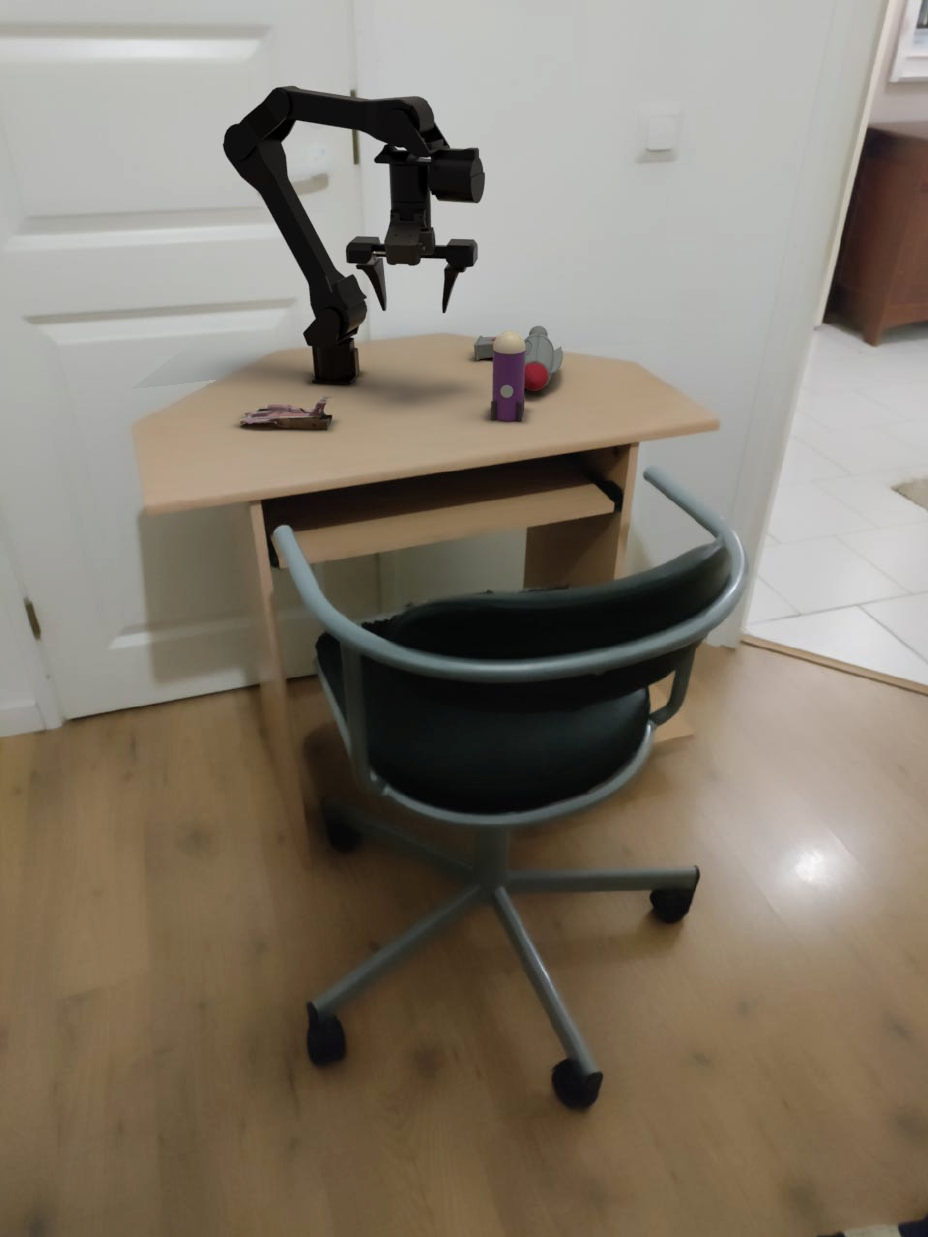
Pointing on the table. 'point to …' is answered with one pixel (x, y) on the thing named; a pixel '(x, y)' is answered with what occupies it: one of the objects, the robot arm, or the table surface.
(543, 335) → the toy ray gun
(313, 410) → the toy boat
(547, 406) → the table surface
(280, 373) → the table surface
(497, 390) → the toy rocket
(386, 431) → the table surface
